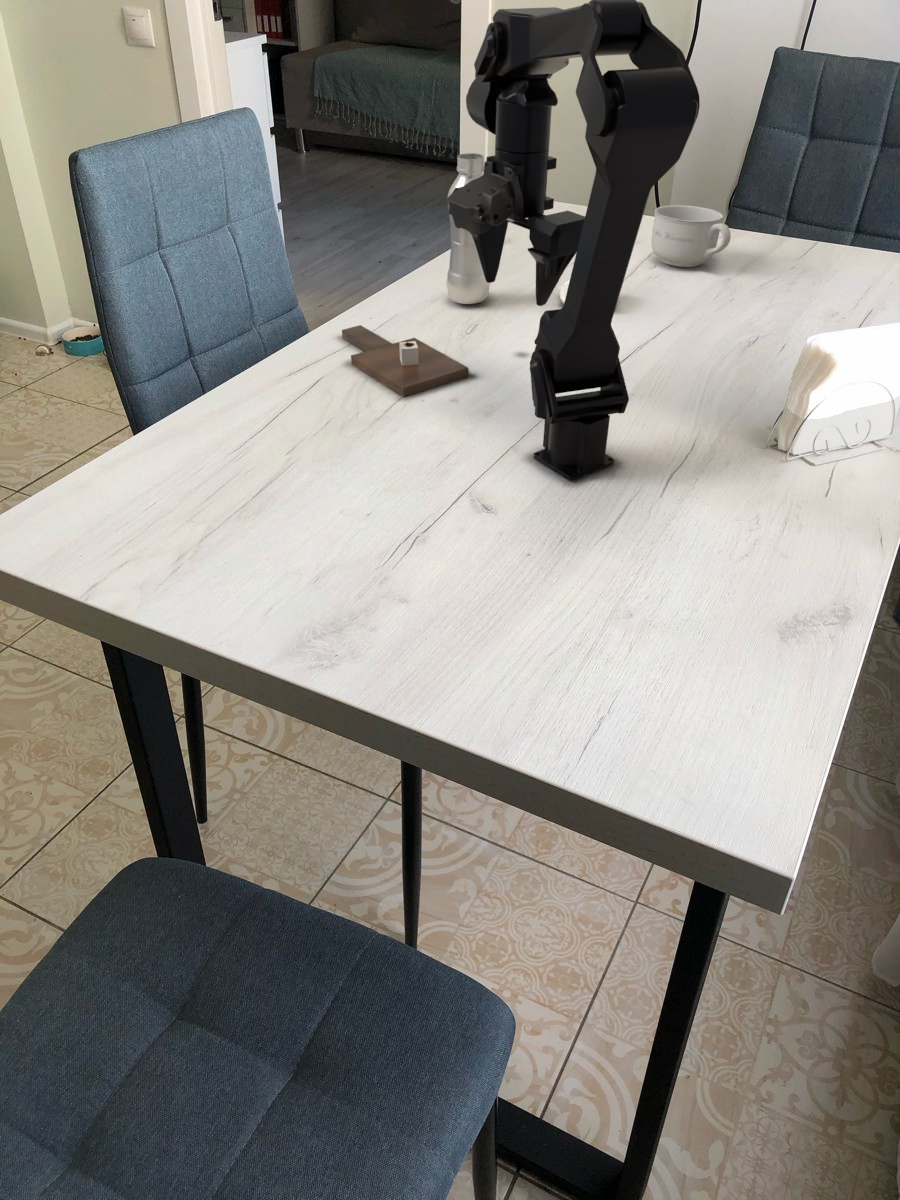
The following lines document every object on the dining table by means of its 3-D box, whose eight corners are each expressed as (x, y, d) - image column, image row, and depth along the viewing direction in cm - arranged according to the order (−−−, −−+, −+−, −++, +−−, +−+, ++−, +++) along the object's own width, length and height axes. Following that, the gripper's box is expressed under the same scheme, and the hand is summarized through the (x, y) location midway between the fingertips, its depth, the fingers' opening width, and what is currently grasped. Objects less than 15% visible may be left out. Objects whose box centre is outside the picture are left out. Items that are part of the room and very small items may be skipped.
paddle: (468, 376, 119) (468, 367, 118) (403, 397, 114) (403, 388, 114) (381, 327, 132) (381, 319, 131) (320, 344, 127) (319, 335, 126)
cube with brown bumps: (399, 359, 120) (399, 340, 119) (416, 358, 121) (415, 339, 119) (402, 366, 119) (401, 347, 117) (418, 365, 119) (418, 345, 117)
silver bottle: (438, 304, 139) (437, 158, 126) (459, 290, 143) (460, 148, 131) (477, 312, 136) (480, 164, 124) (497, 297, 141) (502, 153, 129)
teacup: (635, 256, 156) (641, 206, 151) (688, 247, 160) (696, 198, 155) (685, 282, 146) (694, 230, 141) (741, 273, 150) (751, 221, 145)
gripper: (409, 141, 101) (412, 284, 111) (520, 177, 90) (512, 334, 99) (490, 128, 107) (486, 266, 116) (604, 160, 95) (590, 311, 104)
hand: (515, 293), depth 109 cm, fingers open, 9 cm apart
